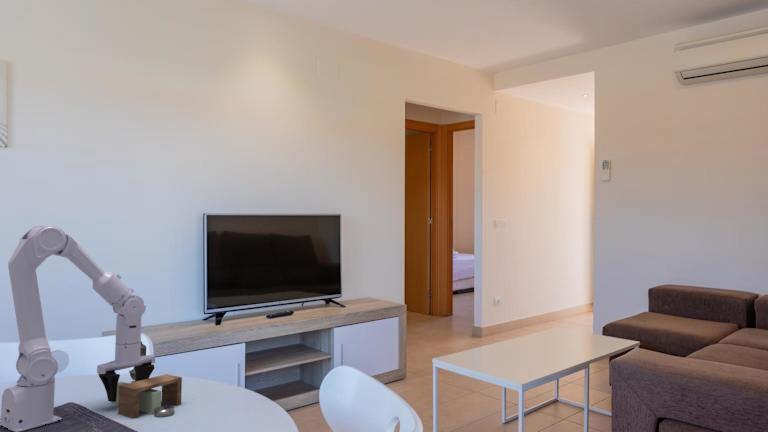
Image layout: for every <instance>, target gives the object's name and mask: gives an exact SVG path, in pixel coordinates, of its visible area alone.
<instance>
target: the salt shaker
mask: <svg viewBox="0 0 768 432" xmlns="http://www.w3.org/2000/svg"><path fill="white" fill-rule="evenodd" d="M146 355H147V346H146V344H143V341H142V340H141V346H140V356H146ZM128 373H129V376H130V378H131V380H132V381H131V382H130V383H132V382H136V373H135V368H134V367H133V369H131V370H129V371H128Z"/></svg>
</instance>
